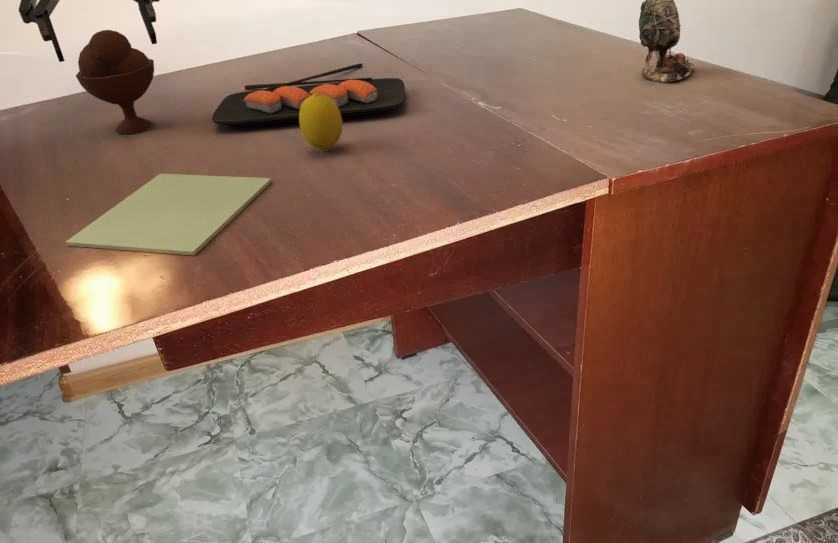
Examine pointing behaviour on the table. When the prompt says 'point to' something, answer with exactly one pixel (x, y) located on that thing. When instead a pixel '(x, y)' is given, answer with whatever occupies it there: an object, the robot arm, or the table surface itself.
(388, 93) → the sushi plate
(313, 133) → the lemon
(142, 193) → the placemat
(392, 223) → the table surface
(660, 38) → the plant with pod
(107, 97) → the ice cream bowl
